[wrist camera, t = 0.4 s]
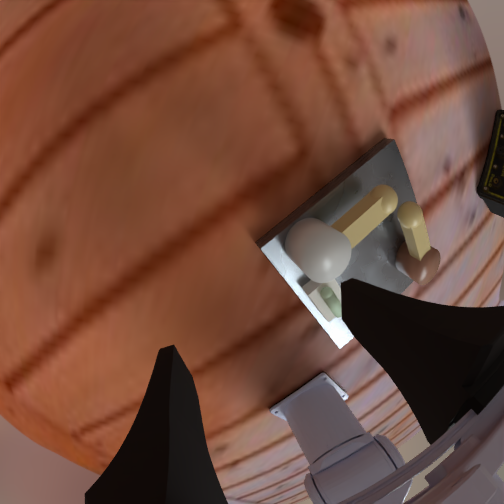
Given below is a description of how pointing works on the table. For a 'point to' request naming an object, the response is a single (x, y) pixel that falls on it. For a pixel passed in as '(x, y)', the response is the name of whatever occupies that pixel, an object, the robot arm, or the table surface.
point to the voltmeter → (494, 170)
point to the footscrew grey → (337, 235)
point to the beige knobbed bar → (416, 246)
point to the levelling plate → (368, 249)
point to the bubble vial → (325, 298)
